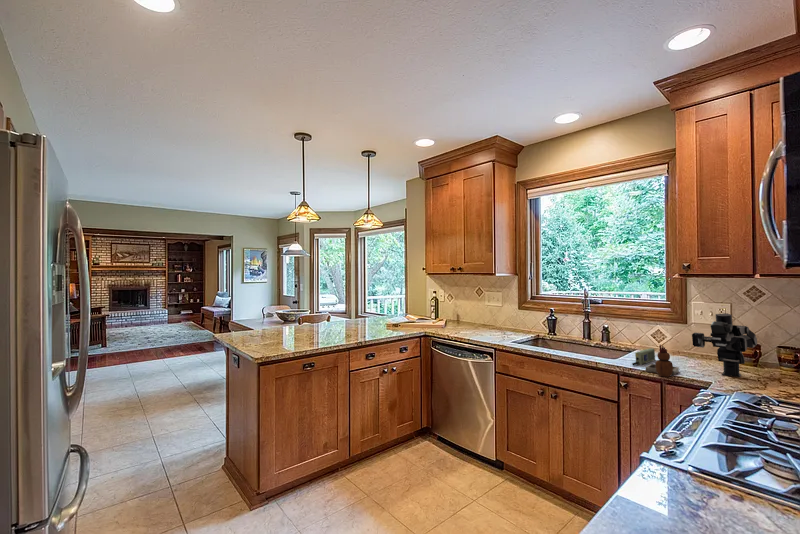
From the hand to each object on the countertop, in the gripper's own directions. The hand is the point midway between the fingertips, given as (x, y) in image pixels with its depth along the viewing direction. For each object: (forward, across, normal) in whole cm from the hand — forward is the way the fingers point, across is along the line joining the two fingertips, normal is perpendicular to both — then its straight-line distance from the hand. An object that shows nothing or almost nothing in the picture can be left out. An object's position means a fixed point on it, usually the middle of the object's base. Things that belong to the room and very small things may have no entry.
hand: (712, 346), depth 167 cm
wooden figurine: (+3, -18, +16) cm, 25 cm away
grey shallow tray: (-7, -23, +18) cm, 30 cm away
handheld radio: (-20, -37, +20) cm, 47 cm away
